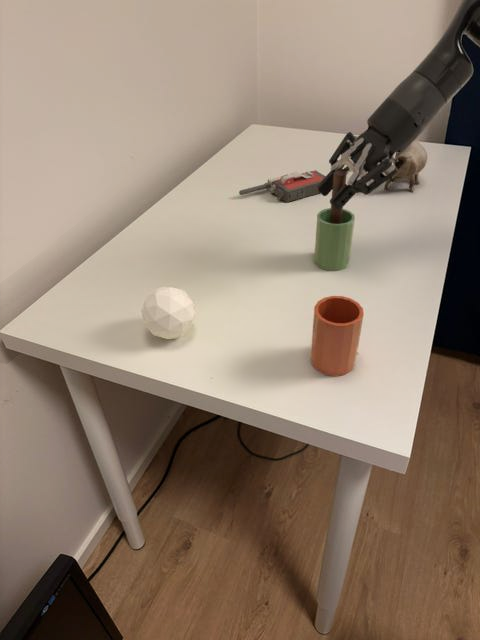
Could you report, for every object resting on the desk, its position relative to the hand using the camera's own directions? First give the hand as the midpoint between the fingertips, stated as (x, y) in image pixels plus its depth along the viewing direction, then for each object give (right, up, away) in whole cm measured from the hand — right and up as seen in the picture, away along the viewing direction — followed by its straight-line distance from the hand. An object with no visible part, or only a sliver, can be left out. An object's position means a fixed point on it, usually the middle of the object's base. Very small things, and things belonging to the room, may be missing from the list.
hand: (327, 198), depth 79 cm
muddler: (+2, -9, +8) cm, 12 cm away
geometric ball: (-25, -22, -5) cm, 33 cm away
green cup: (+2, -9, +8) cm, 13 cm away
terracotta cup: (-1, -26, -11) cm, 28 cm away
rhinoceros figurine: (+22, +10, +31) cm, 40 cm away
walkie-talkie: (-4, +9, +30) cm, 32 cm away
